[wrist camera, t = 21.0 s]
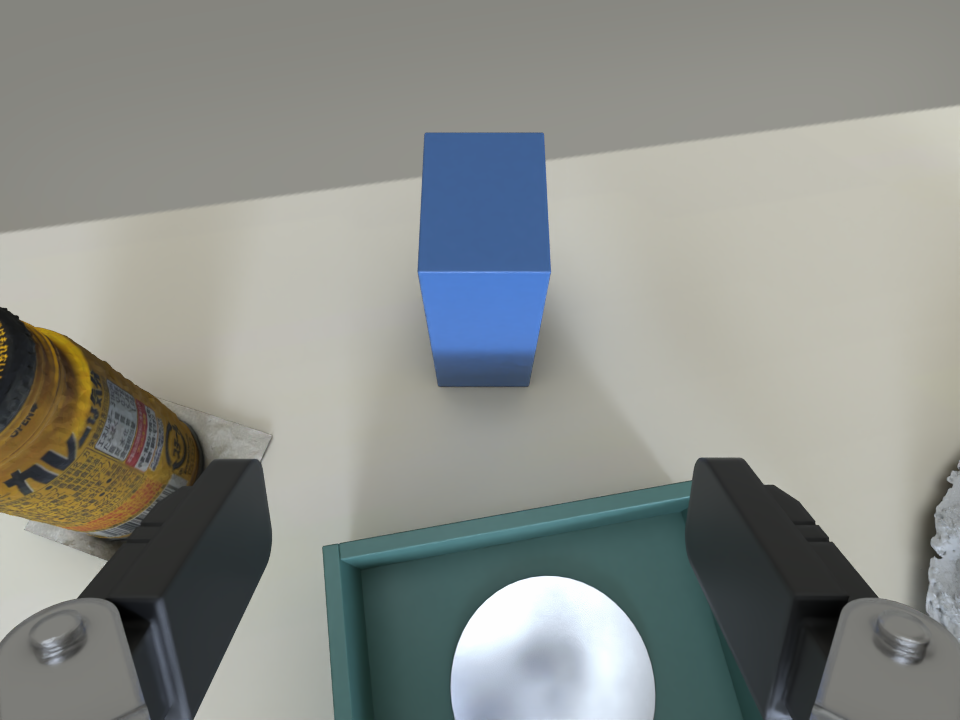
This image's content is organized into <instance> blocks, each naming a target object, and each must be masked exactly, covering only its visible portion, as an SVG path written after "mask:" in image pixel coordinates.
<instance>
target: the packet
mask: <svg viewBox="0 0 960 720" xmlns="http://www.w3.org/2000/svg"><path fill="white" fill-rule="evenodd" d="M550 274H551V264H550V244H549V224H548V204H547V185H546V165H545V145H544V134H543V133H425V135H424V153H423V173H422V193H421V213H420V233H419V254H418V277H419V282H420V288H421V293H422V299H423V304H424V310H425V316H426V321H427V327H428V332H429V338H430V343H431V349H432V354H433V360H434V365H435V371H436V377H437V382H438V386H529V382H530V377H531V372H532V367H533V362H534V356H535V351H536V346H537V341H538V336H539V331H540V325H541V320H542V315H543V310H544V305H545V300H546V294H547V289H548V284H549V279H550Z"/></svg>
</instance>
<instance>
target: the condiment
mask: <svg viewBox="0 0 960 720" xmlns="http://www.w3.org/2000/svg"><path fill="white" fill-rule="evenodd" d="M271 437H272V435H270V434H267V433H264V432H261V431H259V430H256V429H252V428H249V427H246V426H243V425H240V424H237V423H235V422H231V421H227V420H224V419H222V418H219V417H216V416H213V415H210V414H206V413H204V412H200V411H197V410H194V409H191V408H188V407H184V406H181V405H178V404H175V403H172V402H170V401H166V400H163V399H160V398H157V397H154V396H153V395H151V394H150V393H149V392H147V391H145V390H143V389H141V388H139V387H138V386H137V385H135V384H133V383H132V382H131V381H130V380H129V379H126V378H124V377H123V375H122V374H121V373H120V372H117V371H115V370H114V369H113V368H112V367H111V366H110V365H109V364H108V363H107V362H106V361H102V360H100V359H99V358H97V357H96V356H95V355H94V354H92V353H91V352H89V351H88V350H86V349H85V348H83V347H82V346H80V345H79V344H77V343H76V342H74V341H73V340H72V339H70V338H68V337H67V336H65V335H62V334H59V333H57V332H54V331H51V330H48V329H44V328H39V327H34V326H32V325H30V324H28V323H26V322H24V321H21V320H19V317H18V316H17V315H13V314H12V313H11V312H10V311H8V310H7V308H1V307H0V512H2V513H6V514H9V515H14V516H18V517H22V518H25V519H29V522H28V523H27V525H26V527H25V529H24V530H26V531H29V532H32V533H34V534H37V535H40V536H43V537H45V538H48V539H51V540H53V541H56V542H59V543H62V544H64V545H67V546H70V547H72V548H75V549H78V550H81V551H83V552H86V553H89V554H91V555H94V556H97V557H99V558H102V559H104V560H107V561H109V560H110V559H111V557H112V556H113V555H114V554H115V553H116V551H117V550H118V549H119V548H120V547H121V545H122V544H123V543H126V542H127V538H128V537H129V536H130V535H131V533H132V532H133V531H134V530H135V529H136V527H140V525H141V521H142V520H143V519H144V518H145V517H146V515H147V514H148V513H149V512H150V511H151V509H152V508H153V507H154V506H155V505H156V503H158V502H159V501H161V500H162V499H164V498H165V497H167V496H168V495H170V494H171V493H173V492H174V491H176V490H177V489H179V488H180V487H182V486H193V484H194V483H195V482H196V481H197V479H198V478H199V477H200V475H201V474H202V473H203V472H204V470H205V469H206V468H207V466H208V465H209V464H210V463H211V462H212V461H213V460H214V459H258V460H259V461H261V459H262V456H263V454H264V452H265V450H266V448H267V445H268V443H269V441H270V439H271Z"/></svg>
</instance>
